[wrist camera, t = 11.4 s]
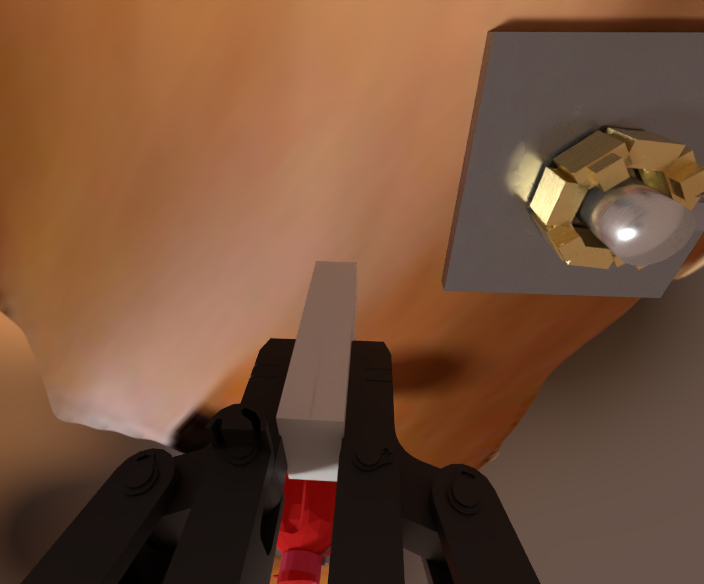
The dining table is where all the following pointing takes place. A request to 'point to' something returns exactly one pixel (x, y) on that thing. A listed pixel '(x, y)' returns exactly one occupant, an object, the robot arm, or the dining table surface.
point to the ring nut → (605, 172)
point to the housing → (558, 136)
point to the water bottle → (305, 530)
